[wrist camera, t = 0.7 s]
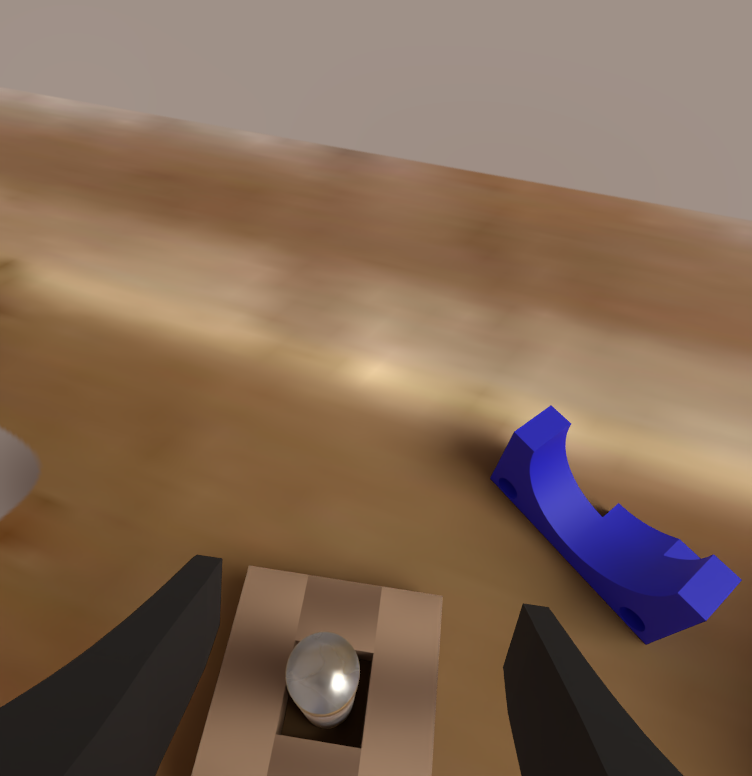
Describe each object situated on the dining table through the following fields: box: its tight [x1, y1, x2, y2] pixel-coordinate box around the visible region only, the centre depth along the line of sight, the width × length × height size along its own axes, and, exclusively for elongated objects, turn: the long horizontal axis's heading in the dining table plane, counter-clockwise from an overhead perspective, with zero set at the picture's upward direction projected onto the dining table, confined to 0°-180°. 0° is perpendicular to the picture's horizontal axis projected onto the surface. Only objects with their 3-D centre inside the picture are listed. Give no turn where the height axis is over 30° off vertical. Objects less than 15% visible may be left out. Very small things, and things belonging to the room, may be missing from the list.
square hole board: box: [191, 565, 443, 776], centre depth 25 cm, size 10×10×2 cm
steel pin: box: [285, 632, 360, 729], centre depth 23 cm, size 3×3×9 cm
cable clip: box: [490, 406, 741, 644], centre depth 30 cm, size 12×4×6 cm, turn 37°
